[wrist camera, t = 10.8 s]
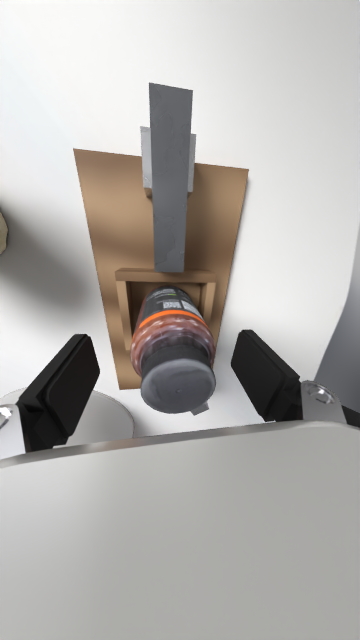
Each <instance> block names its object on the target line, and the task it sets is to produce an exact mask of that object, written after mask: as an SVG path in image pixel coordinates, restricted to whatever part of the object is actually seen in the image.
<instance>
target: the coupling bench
mask: <svg viewBox="0 0 360 640" xmlns="http://www.w3.org/2000/svg"><path fill="white" fill-rule="evenodd" d="M73 150H74V156H75V161H76V166H77V171H78V176H79V182H80V187H81V192H82V197H83V202H84V208H85V213H86V218H87V223H88V228H89V233H90V239H91V244H92V249H93V254H94V259H95V265H96V270H97V275H98V280H99V285H100V290H101V296H102V301H103V306H104V311H105V316H106V322H107V327H108V332H109V337H110V342H111V348H112V353H113V358H114V363H115V368H116V373H117V379H118V384H119V389H120V390H125V389H140V388H141V380H142V378H141V377H140V376H139V375H138V374H137V373H136V372H135V370H134V368H133V366H132V363H131V358H130V348H131V343H132V339H133V334H134V331H135V328H136V324H137V320H138V316H139V313H140V309H141V305H142V303H143V300H144V298H145V297H146V295H147V294H148V293H149V292H150V291H151V290H153V289H154V288H157V287H159V286H164V285H171V286H176V287H178V288H180V289H182V290H183V291H185V292H186V293H187V294H188V296H189V297H190V298H191V300H192V302H193V303H194V305H195V307H196V308H197V310H198V312H199V313H200V315H201V317H202V318H203V320H204V322H205V323H206V325H207V327H208V328H209V330H210V332H211V333H212V335H213V338H214V341H215V352H216V346H217V341H218V335H219V330H220V324H221V319H222V313H223V308H224V302H225V297H226V292H227V286H228V281H229V275H230V270H231V264H232V259H233V253H234V248H235V242H236V237H237V231H238V226H239V220H240V215H241V209H242V204H243V199H244V193H245V188H246V182H247V177H248V171H249V169H242V168H234V167H225V166H217V165H208V164H200V163H194V176H193V192H192V194H191V195H190V197H189V199H188V200H187V212H186V232H185V251H184V271H183V272H155V266H154V233H153V200H152V197H146V195H145V191H144V188H143V169H142V157H141V156H132V155H124V154H115V153H107V152H98V151H90V150H82V149H73ZM213 363H214V361H213ZM211 368H213V364H212V366H211Z"/></svg>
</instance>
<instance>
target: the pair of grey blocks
mask: <svg viewBox="0 0 360 640" xmlns="http://www.w3.org/2000/svg"><path fill="white" fill-rule="evenodd" d="M192 95H193V90H188V89H182V88H176V87H171V86H165V85H160V84H154V83H149V99H150V128H148V127H141V126H140V129H141V149H142V169H143V188H144V191H145V195H146V197H152V200H153V233H154V266H155V272H183V271H184V251H185V232H186V212H187V200H188V199H189V197H190V195H191V194H192V192H193V176H194V160H195V144H196V134H191V115H192ZM208 409H209V407H208V403H207V401H206V402H205V403H204V404H202V405H201V406H199V407H198V408H196V409H194V410H191V412H192V413H193V415H194V416H195V415H197V414H199V413H201V412H204V411H206V410H208Z"/></svg>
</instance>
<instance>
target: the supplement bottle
mask: <svg viewBox="0 0 360 640" xmlns="http://www.w3.org/2000/svg"><path fill="white" fill-rule="evenodd" d="M130 358H131V363H132V366H133V368H134V370H135V372H136V373H137V374H138V375H139V376H140V377H141V378H142V380H141V396H142V398H143V400H144V402H145V403H146V404H147V405H149V406H150V407H151V408H153V409H154V410H157V411H160V412H163V413H168V414H172V413H173V414H176V413H183V412H188V411H191V410H194V409H196V408H198V407H199V406H201V405H202V404H204V403H205V402H206V401H207V400H208V399H209V398H210V397H211V395H212V394H213V392H214V390H215V386H216V379H215V375H214V373H213V370H212V368H211V366H212V364H213V361H214V358H215V341H214V338H213V335H212V333H211V332H210V330H209V328H208V327H207V325H206V323H205V322H204V320H203V318H202V317H201V315H200V313H199V312H198V310H197V308H196V307H195V305H194V303H193V302H192V300H191V298H190V297H189V296H188V294H187V293H186V292H185V291H183V290H182V289H180V288H178V287H176V286H171V285H164V286H159V287H157V288H154V289H153V290H151V291H150V292H149V293H148V294H147V295H146V297H145V298H144V300H143V303H142V305H141V309H140V313H139V316H138V320H137V324H136V328H135V331H134V334H133V339H132V343H131V348H130Z"/></svg>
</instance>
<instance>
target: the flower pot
mask: <svg viewBox="0 0 360 640" xmlns="http://www.w3.org/2000/svg"><path fill="white" fill-rule="evenodd" d="M7 232H8V229H7V225H6V222H5V220H4V218H3V216H2V214H1V212H0V254H1V253H2V252H3V251H4V250H5V249H6V237H7Z"/></svg>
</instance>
